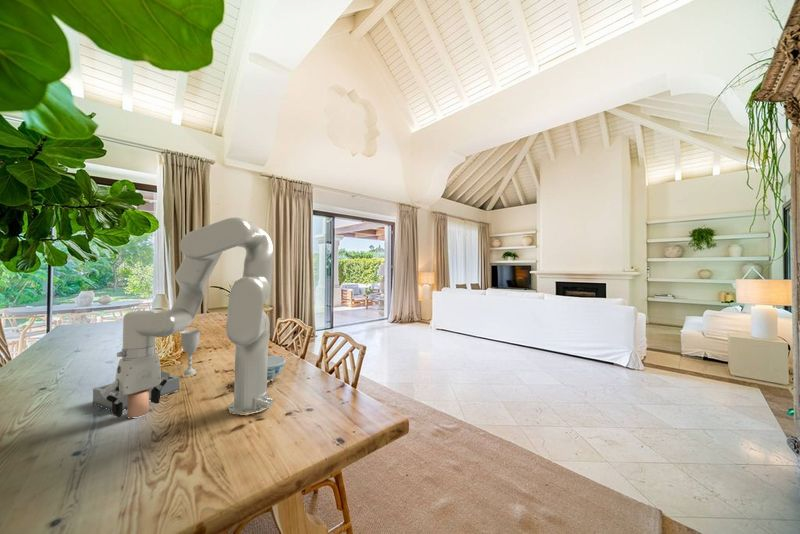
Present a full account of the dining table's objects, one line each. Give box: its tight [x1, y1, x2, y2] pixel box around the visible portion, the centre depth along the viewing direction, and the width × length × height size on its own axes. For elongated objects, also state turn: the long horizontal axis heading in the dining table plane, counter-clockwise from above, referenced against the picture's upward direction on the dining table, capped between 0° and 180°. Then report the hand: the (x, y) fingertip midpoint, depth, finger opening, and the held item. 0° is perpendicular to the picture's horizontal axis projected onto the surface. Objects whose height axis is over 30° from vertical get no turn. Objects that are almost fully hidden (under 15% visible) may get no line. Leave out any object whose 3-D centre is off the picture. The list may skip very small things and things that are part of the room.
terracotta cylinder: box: [126, 389, 150, 418], centre depth 93 cm, size 5×5×7 cm
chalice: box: [179, 329, 202, 376], centre depth 126 cm, size 7×7×18 cm
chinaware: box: [267, 355, 286, 380], centre depth 122 cm, size 15×15×8 cm
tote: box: [92, 374, 180, 411], centre depth 105 cm, size 14×18×5 cm
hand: (137, 408), depth 93 cm, fingers open, 9 cm apart
